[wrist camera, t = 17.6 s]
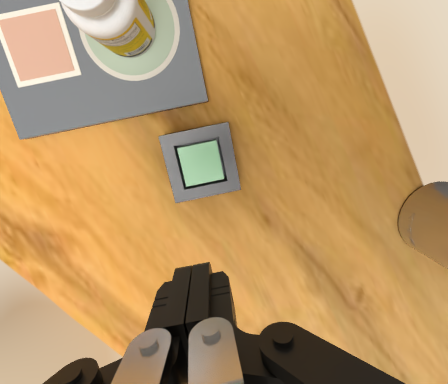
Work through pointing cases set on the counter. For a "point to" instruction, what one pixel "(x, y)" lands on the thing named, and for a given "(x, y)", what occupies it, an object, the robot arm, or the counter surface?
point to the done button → (200, 162)
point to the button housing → (195, 136)
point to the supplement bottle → (114, 23)
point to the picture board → (92, 69)
